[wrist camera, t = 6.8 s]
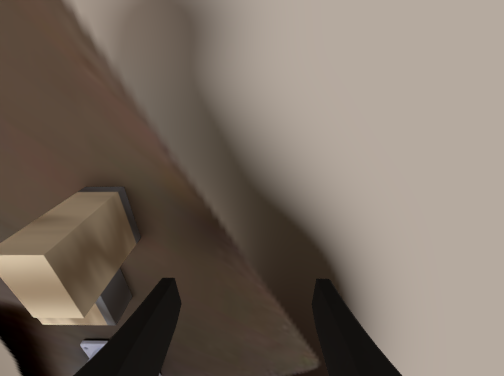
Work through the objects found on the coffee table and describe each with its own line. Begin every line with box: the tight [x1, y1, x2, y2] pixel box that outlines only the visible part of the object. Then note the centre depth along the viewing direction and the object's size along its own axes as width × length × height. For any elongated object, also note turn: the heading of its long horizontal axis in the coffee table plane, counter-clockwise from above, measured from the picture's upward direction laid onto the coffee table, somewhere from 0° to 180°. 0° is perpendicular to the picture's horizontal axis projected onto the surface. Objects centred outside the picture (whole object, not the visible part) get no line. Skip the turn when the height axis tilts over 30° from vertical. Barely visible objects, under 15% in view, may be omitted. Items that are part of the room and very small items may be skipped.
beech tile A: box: [38, 268, 132, 325], centre depth 20 cm, size 5×3×7 cm
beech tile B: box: [0, 187, 141, 318], centre depth 14 cm, size 5×3×7 cm, turn 1°
